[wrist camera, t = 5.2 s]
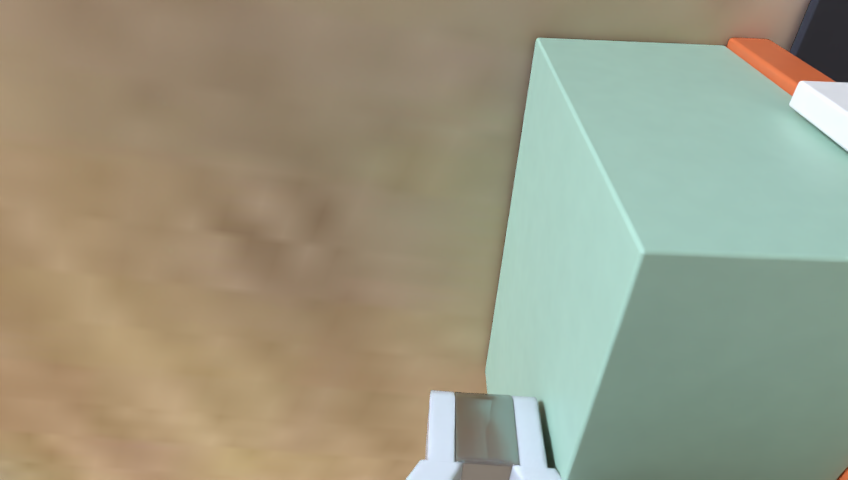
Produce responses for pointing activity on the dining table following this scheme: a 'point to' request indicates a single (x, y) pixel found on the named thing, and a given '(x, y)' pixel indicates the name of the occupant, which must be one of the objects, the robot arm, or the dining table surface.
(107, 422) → the dining table surface
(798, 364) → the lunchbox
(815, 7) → the mat
